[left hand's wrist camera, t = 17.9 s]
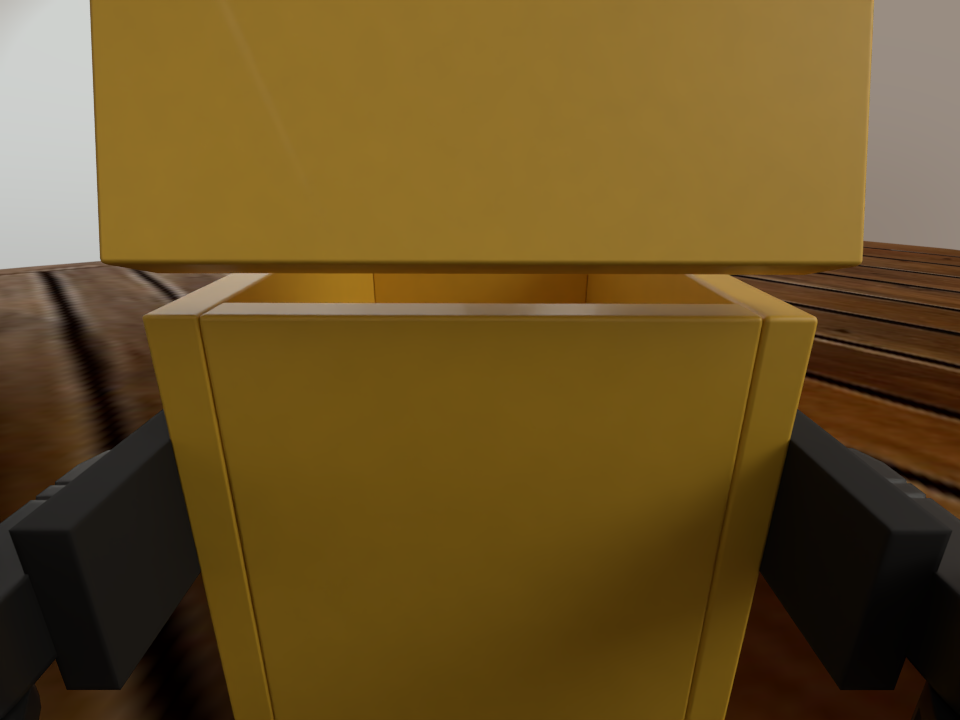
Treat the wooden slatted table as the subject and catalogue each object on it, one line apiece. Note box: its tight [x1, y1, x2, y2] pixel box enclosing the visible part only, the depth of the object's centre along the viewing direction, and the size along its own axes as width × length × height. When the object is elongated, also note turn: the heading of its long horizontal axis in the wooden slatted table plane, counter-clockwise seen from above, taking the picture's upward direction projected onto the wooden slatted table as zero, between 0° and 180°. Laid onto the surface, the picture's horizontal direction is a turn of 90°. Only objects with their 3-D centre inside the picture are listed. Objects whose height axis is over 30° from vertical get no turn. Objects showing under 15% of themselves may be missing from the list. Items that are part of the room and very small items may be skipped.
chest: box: [143, 273, 817, 720], centre depth 16 cm, size 14×10×10 cm
